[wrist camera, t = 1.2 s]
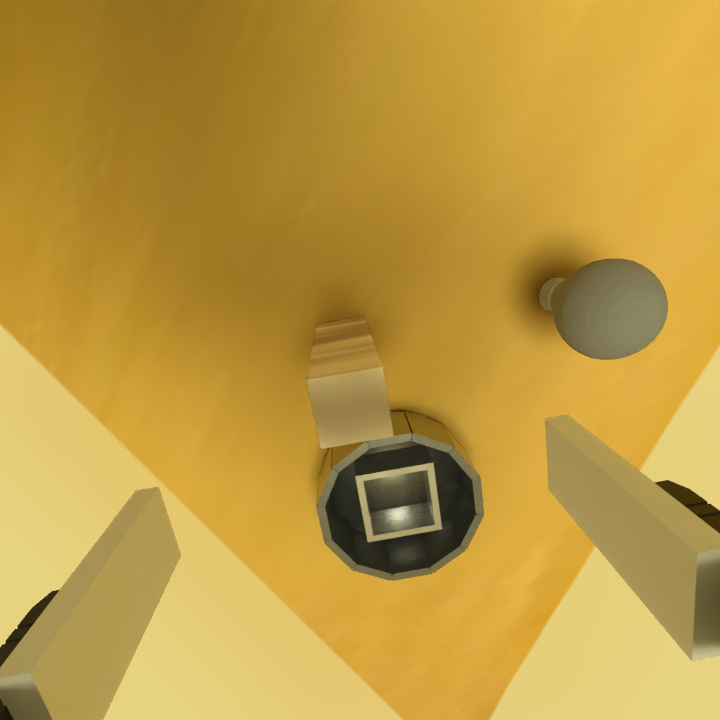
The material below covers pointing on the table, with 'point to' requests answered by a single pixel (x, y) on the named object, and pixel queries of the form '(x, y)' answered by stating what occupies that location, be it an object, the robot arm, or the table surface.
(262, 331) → the table surface
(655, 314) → the light bulb
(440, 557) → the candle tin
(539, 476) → the table surface
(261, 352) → the table surface
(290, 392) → the table surface
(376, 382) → the tan square post
